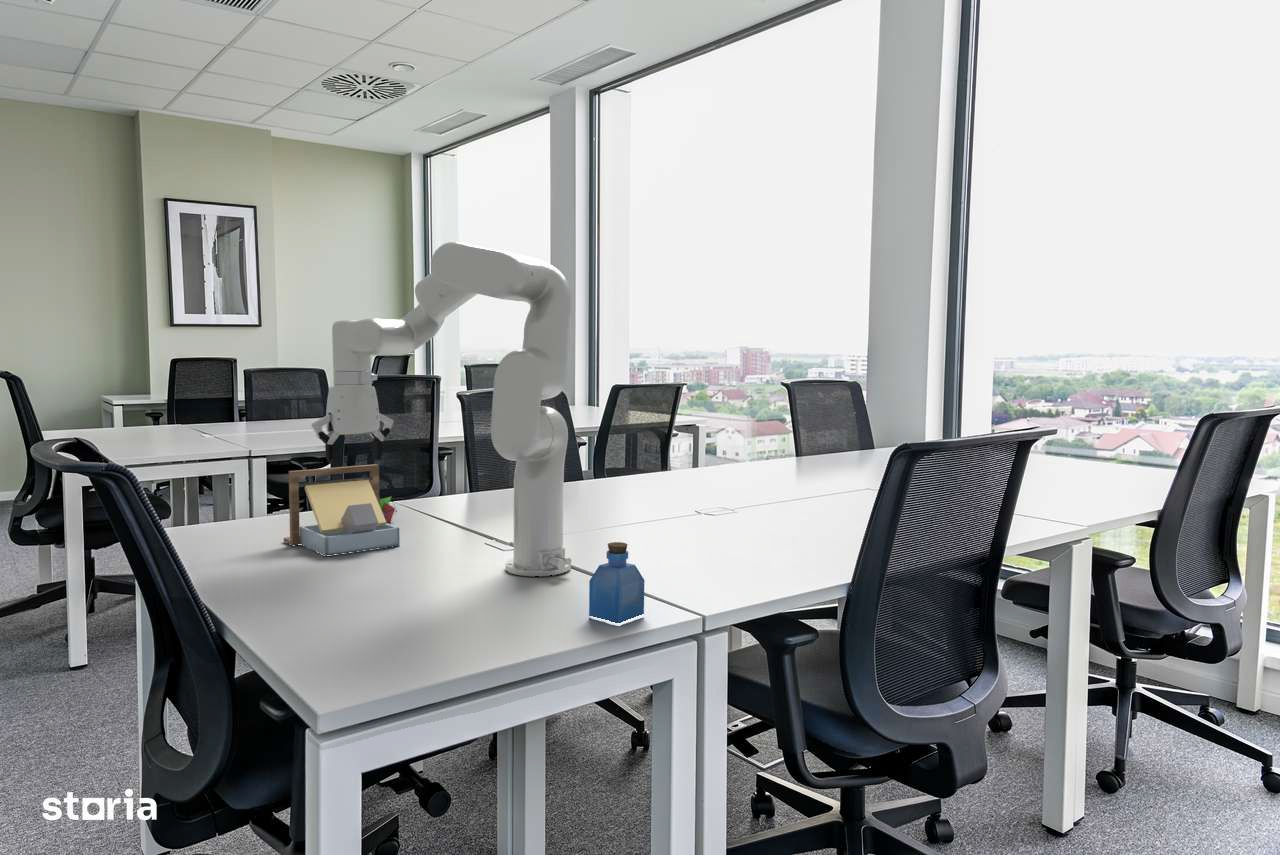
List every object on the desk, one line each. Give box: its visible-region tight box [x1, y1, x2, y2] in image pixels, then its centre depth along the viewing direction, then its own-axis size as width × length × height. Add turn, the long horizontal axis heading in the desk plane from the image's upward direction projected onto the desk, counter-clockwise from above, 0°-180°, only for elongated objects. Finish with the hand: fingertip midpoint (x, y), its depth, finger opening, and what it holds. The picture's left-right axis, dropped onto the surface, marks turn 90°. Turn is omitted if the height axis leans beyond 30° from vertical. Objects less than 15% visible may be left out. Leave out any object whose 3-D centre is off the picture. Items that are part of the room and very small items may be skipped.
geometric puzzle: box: [379, 495, 398, 524], centre depth 208 cm, size 7×7×8 cm
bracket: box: [283, 463, 380, 545], centre depth 189 cm, size 6×20×16 cm, turn 132°
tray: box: [299, 522, 401, 556], centre depth 183 cm, size 14×16×4 cm
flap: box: [304, 480, 387, 533], centre depth 184 cm, size 12×14×1 cm
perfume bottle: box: [588, 541, 645, 623], centre depth 136 cm, size 6×6×12 cm
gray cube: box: [341, 503, 378, 534], centre depth 179 cm, size 5×5×5 cm
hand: (354, 461), depth 180 cm, fingers open, 9 cm apart
